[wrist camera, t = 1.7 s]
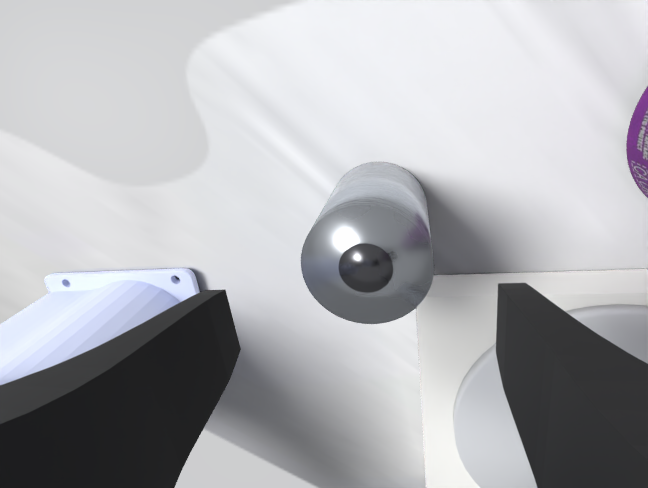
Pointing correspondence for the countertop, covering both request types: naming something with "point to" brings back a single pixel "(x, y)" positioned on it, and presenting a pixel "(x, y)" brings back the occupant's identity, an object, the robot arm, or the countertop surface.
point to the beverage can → (639, 144)
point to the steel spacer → (371, 246)
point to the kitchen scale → (483, 371)
